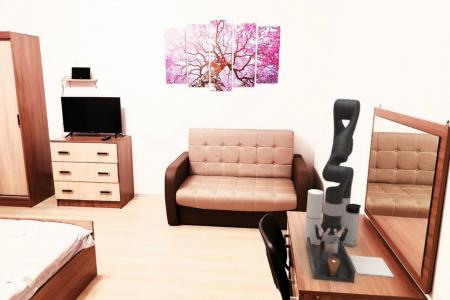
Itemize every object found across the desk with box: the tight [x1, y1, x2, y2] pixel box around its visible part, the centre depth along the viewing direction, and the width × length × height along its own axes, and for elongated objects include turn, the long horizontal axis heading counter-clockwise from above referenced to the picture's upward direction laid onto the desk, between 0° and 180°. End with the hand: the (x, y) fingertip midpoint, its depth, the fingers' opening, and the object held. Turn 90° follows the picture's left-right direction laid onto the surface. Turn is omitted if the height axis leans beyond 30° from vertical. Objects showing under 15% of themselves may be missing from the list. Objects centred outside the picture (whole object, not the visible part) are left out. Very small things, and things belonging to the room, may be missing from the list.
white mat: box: [348, 255, 395, 278], centre depth 139 cm, size 14×14×1 cm
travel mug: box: [342, 203, 362, 247], centre depth 156 cm, size 6×7×20 cm
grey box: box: [324, 235, 338, 253], centre depth 140 cm, size 9×5×5 cm, turn 173°
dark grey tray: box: [305, 232, 356, 283], centre depth 141 cm, size 26×15×8 cm, turn 173°
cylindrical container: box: [304, 189, 325, 244], centre depth 159 cm, size 7×7×25 cm
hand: (329, 248), depth 140 cm, fingers closed on grey box, 5 cm apart
